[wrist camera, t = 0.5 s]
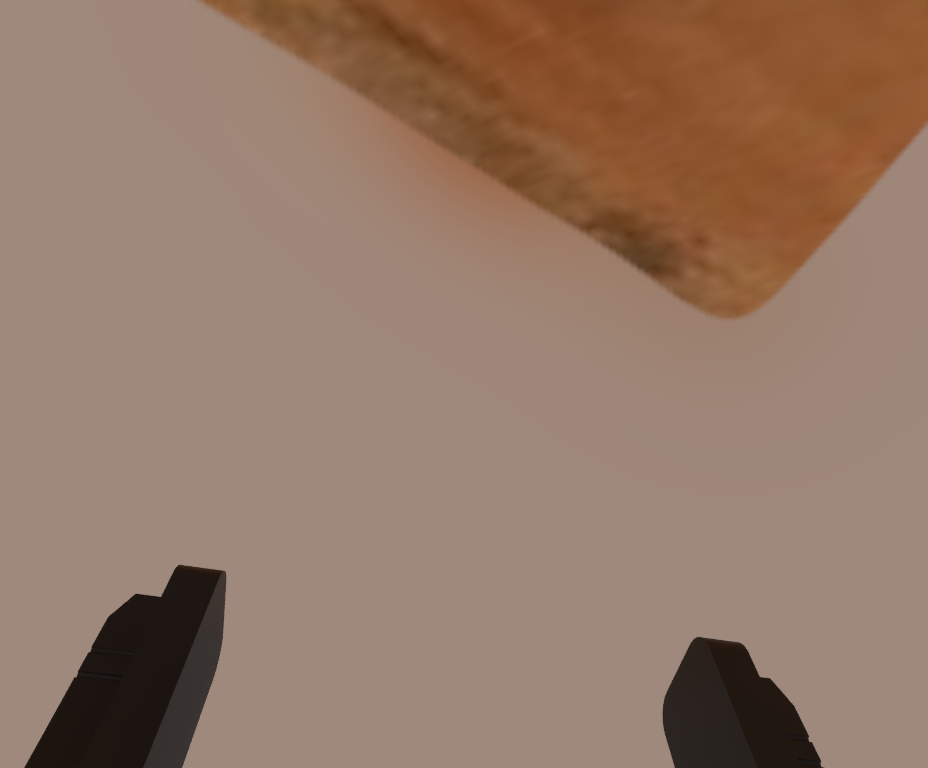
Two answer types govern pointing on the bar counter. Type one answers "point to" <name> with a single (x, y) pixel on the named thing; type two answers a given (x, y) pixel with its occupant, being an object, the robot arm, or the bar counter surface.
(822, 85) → the bar counter surface
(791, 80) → the bar counter surface
